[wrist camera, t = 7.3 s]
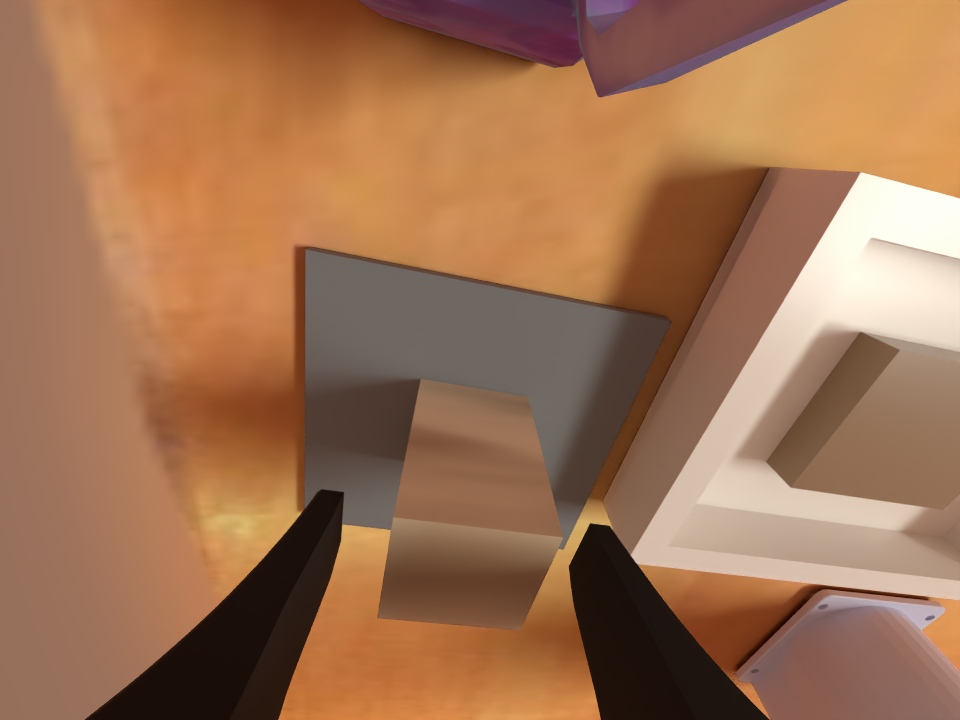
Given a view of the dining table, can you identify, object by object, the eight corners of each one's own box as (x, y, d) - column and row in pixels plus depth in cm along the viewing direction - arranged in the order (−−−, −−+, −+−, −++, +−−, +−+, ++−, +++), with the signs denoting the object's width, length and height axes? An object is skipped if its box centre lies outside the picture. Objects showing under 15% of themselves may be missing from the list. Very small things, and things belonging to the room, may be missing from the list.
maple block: (502, 475, 16) (519, 630, 11) (406, 462, 16) (377, 618, 11) (528, 396, 15) (563, 537, 9) (420, 378, 14) (393, 517, 9)
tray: (932, 545, 20) (1002, 605, 17) (602, 501, 18) (626, 562, 15) (1226, 285, 14) (1408, 317, 11) (770, 166, 11) (861, 172, 9)
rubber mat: (561, 541, 19) (563, 549, 19) (308, 512, 18) (304, 520, 17) (666, 317, 14) (671, 321, 13) (310, 246, 12) (305, 249, 12)
